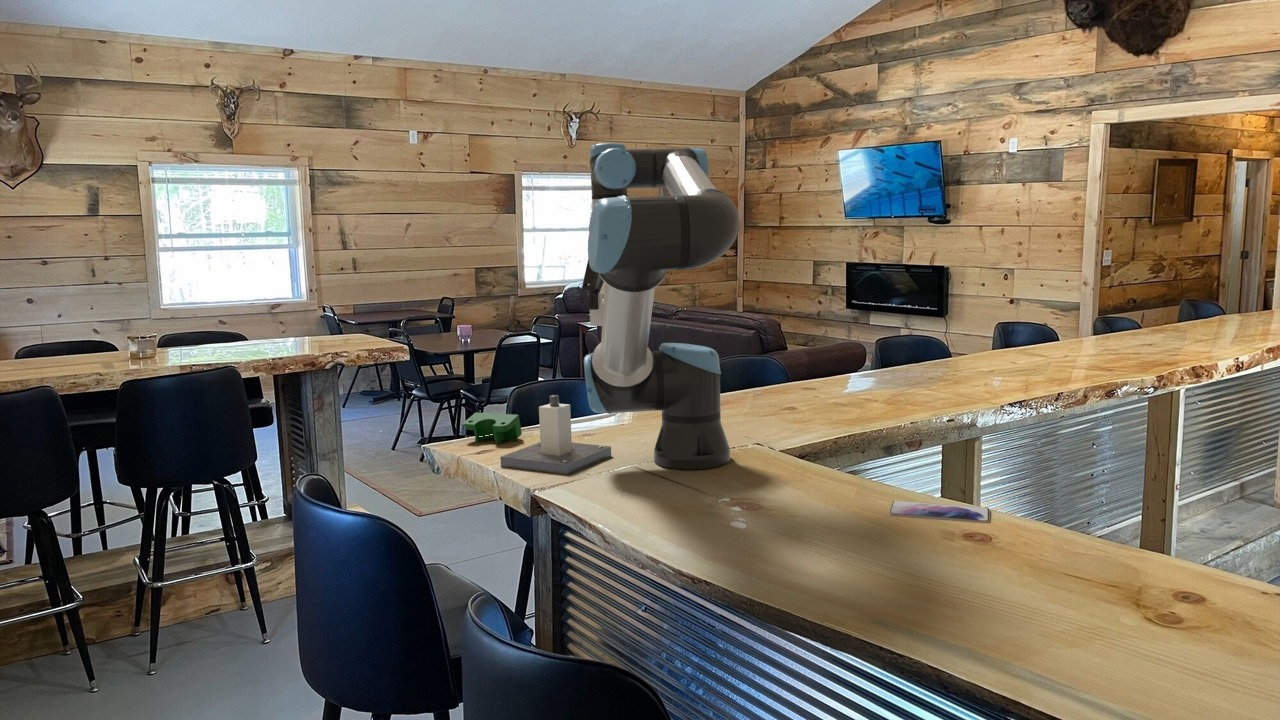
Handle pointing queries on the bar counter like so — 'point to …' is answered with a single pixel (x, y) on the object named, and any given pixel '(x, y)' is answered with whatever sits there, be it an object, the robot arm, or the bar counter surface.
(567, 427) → the plug
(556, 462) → the socket
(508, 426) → the clamp
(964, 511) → the smartphone
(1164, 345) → the bar counter surface
